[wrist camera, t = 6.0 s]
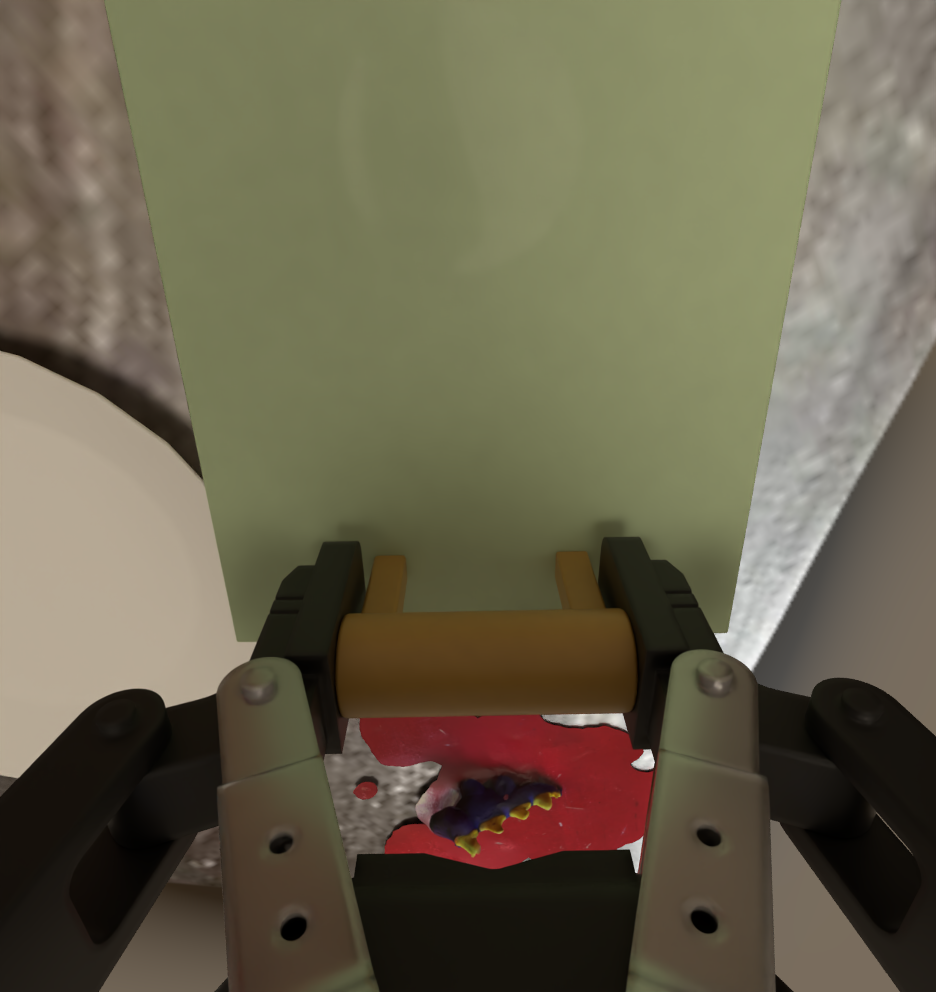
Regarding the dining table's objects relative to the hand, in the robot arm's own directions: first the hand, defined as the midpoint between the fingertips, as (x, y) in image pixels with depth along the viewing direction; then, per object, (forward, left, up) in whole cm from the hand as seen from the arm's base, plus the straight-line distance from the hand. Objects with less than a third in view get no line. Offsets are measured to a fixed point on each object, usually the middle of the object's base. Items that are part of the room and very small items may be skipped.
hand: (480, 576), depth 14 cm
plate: (-19, -7, -11) cm, 23 cm away
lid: (0, +5, -2) cm, 5 cm away
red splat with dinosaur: (+2, -22, -13) cm, 26 cm away
